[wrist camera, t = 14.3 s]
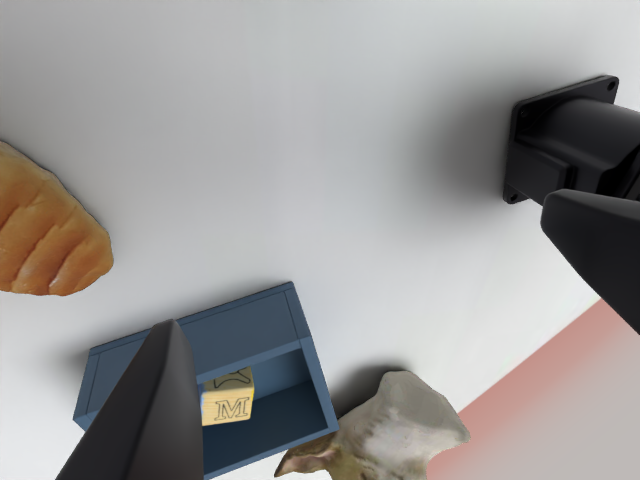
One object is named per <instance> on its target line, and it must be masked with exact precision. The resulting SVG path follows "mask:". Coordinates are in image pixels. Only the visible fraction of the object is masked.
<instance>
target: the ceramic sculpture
mask: <svg viewBox="0 0 640 480" xmlns="http://www.w3.org/2000/svg"><path fill="white" fill-rule="evenodd" d="M337 421H338V425H339V428H340V429H339V430H337V431H334V432H331V433H329V434H326V435H324V436H321V437H318V438H316V439H313V440H311V441H308V442H305V443H303V444H300V445H298V446H295V447H292V448H290V449H289V450H288V451H287V452H286V454H285V455H284V456H283V458H282V460H281V462H280V464H279V465H278V467H277V469H276V471H275V474H274V477H279V476H282V475H284V474H287V473H290V472H293V471H294V472H299V473H313V472H315V471H318V470H324V469H325V470H327V471H328V472H329V474H330V476H331V478H332V480H427V476H426V468H427V464H428V463H429V461H430V460H431V459H432V458H433V457H434V456H435V455H436V454H438V453H440V452H442V451H443V450H447V449H450V448H453V447H456V446H458V445H460V444H462V443H466V442H468V441H469V440H470V438H471V437H470V433H469V431H468V430H467V428H466V427H465V426H464V424H463V423H462V421H461V420H460V418H459V416H458V415H457V413H456V412H455V410H454V409H453V407H452V406H451V405H450V403H449V402H448V400H447V399H446V398H445V397H444V396H443V395H441V394H440V393H438V392H436V391H435V390H433V389H432V388H431V387H430V386H428V385H427V384H426V383H425V382H424V381H422V380H421V379H420V378H419V377H418V376H416V375H415V374H413V373H411V372H408V371H397V372H393V371H389V372H386V373H385V374H384V375H383V377H382V380H381V382H380V385H379V389H378V391H377V394H376V395H375V396H374V397H372V398H371V399H369V400H368V401H366V402H365V403H363V404H362V405H360V406H358V407H356V408H354V409H353V410H351V411H350V412H348V413H347V414H345V415H344V416H342V417H341V418H340V419H339V420H337Z"/></svg>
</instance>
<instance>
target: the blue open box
mask: <svg viewBox="0 0 640 480" xmlns="http://www.w3.org/2000/svg"><path fill="white" fill-rule="evenodd" d="M176 322H177V323H178V324H179V326H180V328H181V329H182V331H183V333H184V334H185V336H186V338H187V340H188V341H189V343H190V345H191V348H192V353H193V359H194V366H195V373H196V379H197V386H198V384H200V383H203V382H206V381H209V380H212V379H214V378H217V377H220V376H223V375H226V374H228V373H231V372H234V371H237V370H240V369H243V368H245V367H248V366H250V368H251V373H252V378H253V383H254V394H253V401H252V407H251V414H250V418H249V419H247V420H241V421H234V422H226V423H220V424H213V425H205V426H202V431H203V471H204V480H209V479H212V478H214V477H217V476H220V475H222V474H225V473H227V472H230V471H233V470H235V469H238V468H240V467H243V466H246V465H248V464H251V463H253V462H256V461H259V460H261V459H264V458H266V457H269V456H272V455H274V454H277V453H279V452H282V451H285V450H287V449H290V448H292V447H295V446H298V445H300V444H303V443H305V442H308V441H311V440H313V439H316V438H318V437H321V436H324V435H326V434H329V433H331V432H334V431H337V430H339V429H340V428H339V425H338V421H337V418H336V415H335V412H334V408H333V405H332V402H331V398H330V395H329V392H328V389H327V385H326V382H325V379H324V375H323V372H322V369H321V365H320V362H319V359H318V356H317V352H316V349H315V346H314V342H313V339H312V336H311V333H310V330H309V327H308V324H307V321H306V318H305V316H304V313H303V310H302V307H301V304H300V301H299V298H298V295H297V293H296V290H295V287H294V284H293V282H290V283H287V284H284V285H281V286H278V287H275V288H272V289H269V290H266V291H263V292H260V293H257V294H254V295H251V296H248V297H245V298H242V299H239V300H236V301H233V302H230V303H227V304H224V305H221V306H218V307H215V308H212V309H209V310H206V311H203V312H200V313H197V314H194V315H191V316H188V317H185V318H182V319H179V320H176ZM150 331H151V329H149V330H146V331H143V332H140V333H137V334H134V335H131V336H128V337H125V338H122V339H119V340H116V341H113V342H110V343H107V344H104V345H101V346H98V347H95V348H92V349H90V352H89V358H88V361H87V365H86V369H85V373H84V376H83V380H82V384H81V388H80V392H79V396H78V400H77V404H76V408H75V411H74V415H73V420H74V421H75V422H76V423H77V424H78V425H79V426H80V427H81V428H82V429H83V430H84V431H85V432H86V431H87V429H88V427H89V426H90V424H91V423H92V421H93V420H94V418H95V417H96V415H97V413H98V412H99V410H100V409H101V407H102V406H103V404H104V402H105V401H106V399H107V398H108V396H109V395H110V393H111V392H112V390H113V388H114V387H115V385H116V384H117V382H118V381H119V379H120V377H121V376H122V374H123V373H124V371H125V370H126V368H127V367H128V365H129V363H130V362H131V360H132V359H133V357H134V356H135V354H136V353H137V351H138V349H139V348H140V346H141V345H142V343H143V342H144V340H145V338H146V337H147V335H148V334H149V332H150Z"/></svg>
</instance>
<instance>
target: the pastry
mask: <svg viewBox="0 0 640 480" xmlns="http://www.w3.org/2000/svg"><path fill="white" fill-rule="evenodd" d="M112 266H113V255H112V249H111V243H110V237H109V234H108V232H107V231H106V230H105V229H104V228H103V227H102V226H101V225H100V224H99V223H97V222H96V220H95V219H94V218H93V216H91V215H90V214H88V213H87V212H86V211H85V209H84V208H83V207H82V205H81V204H80V202H79V201H78V200H76V199H75V198H74V197H73V196H71V195H70V194H69V193H68V192H67V191H66V189H65V188H64V187H63V185H62V183H61V182H60V181H59V180H58V178H57V177H56V176H55V175H54V174H53V173H52V172H50V171H47V170H44V169H42V168H40V166H38V165H36V164H35V163H34V162H33V161H32V160H31V159H30V158H28V157H27V156H25V155H23V154H21V153H20V152H18V151H17V150H15V149H14V148H13V147H12V146H11V145H9V144H7V143H4V142H2V141H0V290H1V291H6V292H14V293H24V294H33V295H38V296H43V295H59V296H67V295H70V294H73V293H75V292H78V291H81V290H83V289H85V288H86V287H88V286H89V285H91V284H92V283H93V282H95V281H96V280H97V279H98V278H99V277H100V276H102V275H105V274H106V273H107V272H108V271H109V270H110V269H111V267H112Z"/></svg>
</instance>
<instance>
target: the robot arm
mask: <svg viewBox="0 0 640 480" xmlns="http://www.w3.org/2000/svg"><path fill="white" fill-rule="evenodd" d="M618 85H619V79H618V78H617V77H615V76H611V75H608V76H604V77H601V78H597V79H594V80H591V81H587V82H584V83H581V84H577V85H574V86H571V87H567V88H564V89H561V90H557V91H554V92H551V93H547V94H544V95H541V96H537V97H534V98H531V99H527V100H524V101H521V102H519V103H517V104H516V105H515V107H514V108H513V111H512V119H511V128H510V137H509V146H508V155H507V165H506V174H505V183H504V192H503V200H504V201H505V202H507V203H508V204H515V203H518V202H521V201H524V200H527V199H532V200H533V201H535V202H537V203H538V204H540V205H541V206H543V210H542V215H541V221H540V224H541V228H542V230H543V232H544V233H545V234H546V235H547V237H548V238H549V239H550V240H551V242H552V243H553V244H554V245H555V246H556V248H557V249H558V250H559V251H560V252H561V254H562V255H563V256H564V257H565V258H566V260H567V261H568V262H569V263H570V264H571V266H572V267H573V268H574V269H575V271H576V272H577V273H578V274H579V275H580V276H581V277H582V279H583V280H584V281H585V282H586V283H587V284H588V285H589V286H590V287H591V288H592V289H593V290H594V291H595V292H596V293H597V294H598V295H599V296H600V297H601V298H602V299H603V300H604V301H605V302H606V303H608V305H610V306H611V307H612V308H613V309H614V310H615V311H616V312H617V313H618V314H619V315H620V316H621V317H622V318H623V319H624V320H625V321H626V322H627V323H628V324H629V325H630V326H631V327H632V328H633V329H634V330H635V331H636V332H637V333H638V334H639V335H640V112H637V111H633V110H630V109H627V108H624V107H620V106H617V105H614V100H615V96H616V93H617V89H618ZM523 109H524V111H523V113H522V114H521V112H522V110H523ZM512 195H513V196H512ZM511 196H512V197H511ZM55 480H204V471H203V431H202V414H201V407H200V400H199V393H198V386H197V379H196V373H195V366H194V359H193V353H192V348H191V345H190V343H189V341H188V340H187V338H186V336H185V334H184V333H183V331H182V329H181V328H180V326H179V324H178V323H177V322H176V321H175V320H173V319H170V320H167V321H164V322H161V323H158V324H156V325H154V326H153V328H152V329H151V331H150V332H149V334H148V335H147V337H146V338H145V340H144V342H143V343H142V345H141V346H140V348H139V349H138V351H137V353H136V354H135V356H134V357H133V359H132V360H131V362H130V363H129V365H128V367H127V368H126V370H125V371H124V373H123V374H122V376H121V377H120V379H119V381H118V382H117V384H116V385H115V387H114V388H113V390H112V392H111V393H110V395H109V396H108V398H107V399H106V401H105V402H104V404H103V406H102V407H101V409H100V410H99V412H98V413H97V415H96V417H95V418H94V420H93V421H92V423H91V424H90V426H89V427H88V429H87V431H86V432H85V434H84V435H83V437H82V438H81V440H80V442H79V443H78V445H77V446H76V448H75V449H74V451H73V452H72V454H71V456H70V457H69V459H68V460H67V462H66V463H65V465H64V467H63V468H62V470H61V471H60V473H59V474H58V476H57V477H56V479H55Z"/></svg>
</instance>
